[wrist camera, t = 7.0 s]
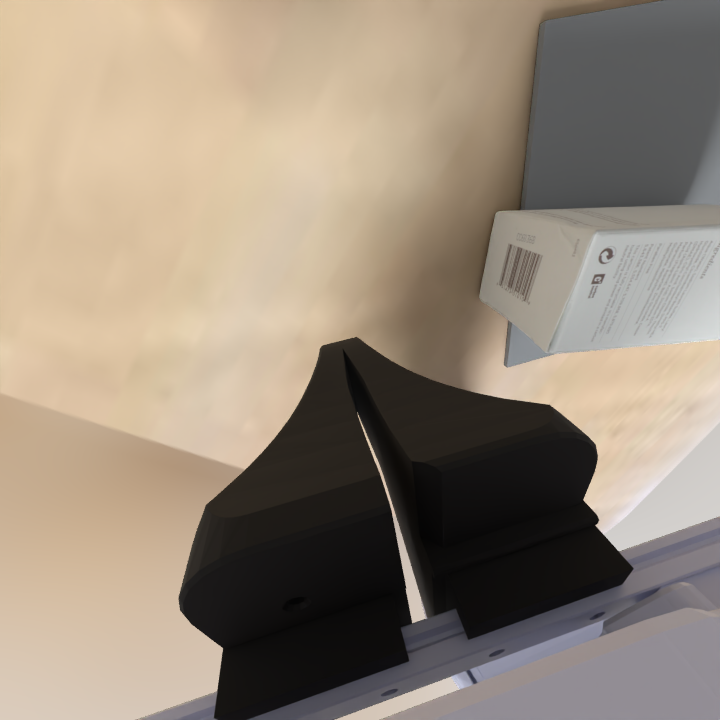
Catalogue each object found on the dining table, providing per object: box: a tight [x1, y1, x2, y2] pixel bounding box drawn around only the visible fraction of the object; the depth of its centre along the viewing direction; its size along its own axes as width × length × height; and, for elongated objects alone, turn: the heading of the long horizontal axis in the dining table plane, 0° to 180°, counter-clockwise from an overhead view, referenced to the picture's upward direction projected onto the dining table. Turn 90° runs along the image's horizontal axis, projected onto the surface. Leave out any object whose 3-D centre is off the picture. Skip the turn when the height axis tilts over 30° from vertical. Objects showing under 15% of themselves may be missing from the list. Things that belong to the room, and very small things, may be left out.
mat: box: [504, 0, 720, 367], centre depth 20 cm, size 20×18×1 cm
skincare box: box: [479, 204, 720, 354], centre depth 17 cm, size 8×6×15 cm
